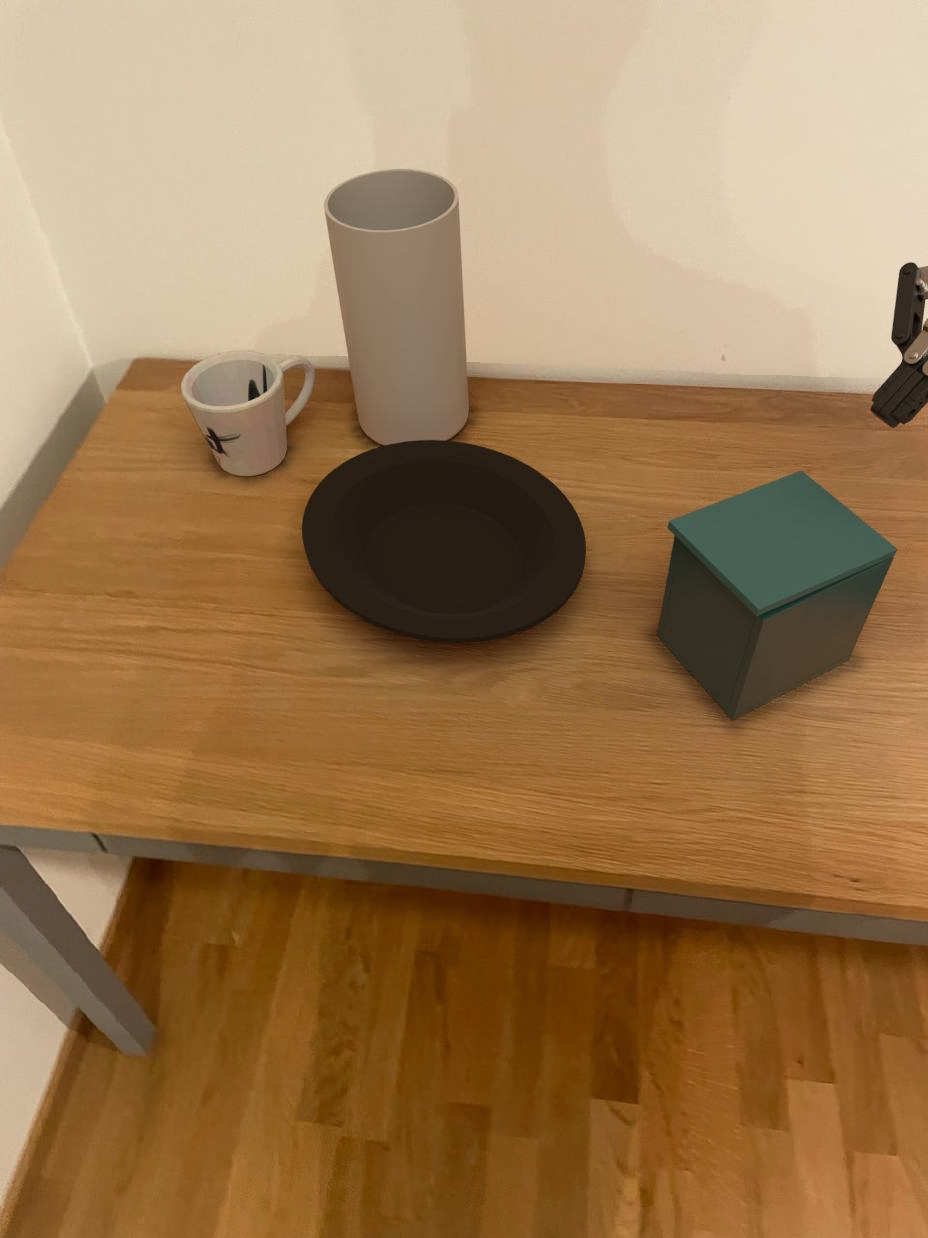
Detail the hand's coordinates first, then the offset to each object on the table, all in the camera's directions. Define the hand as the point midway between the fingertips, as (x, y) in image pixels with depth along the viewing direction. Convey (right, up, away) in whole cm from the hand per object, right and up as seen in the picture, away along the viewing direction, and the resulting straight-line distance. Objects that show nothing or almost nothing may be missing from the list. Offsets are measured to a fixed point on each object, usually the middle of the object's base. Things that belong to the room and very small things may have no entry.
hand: (881, 418), depth 66 cm
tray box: (-4, -17, +16) cm, 23 cm away
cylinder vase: (-35, +9, +39) cm, 54 cm away
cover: (-5, -8, +6) cm, 11 cm away
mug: (-51, +5, +37) cm, 64 cm away
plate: (-31, -10, +24) cm, 40 cm away
